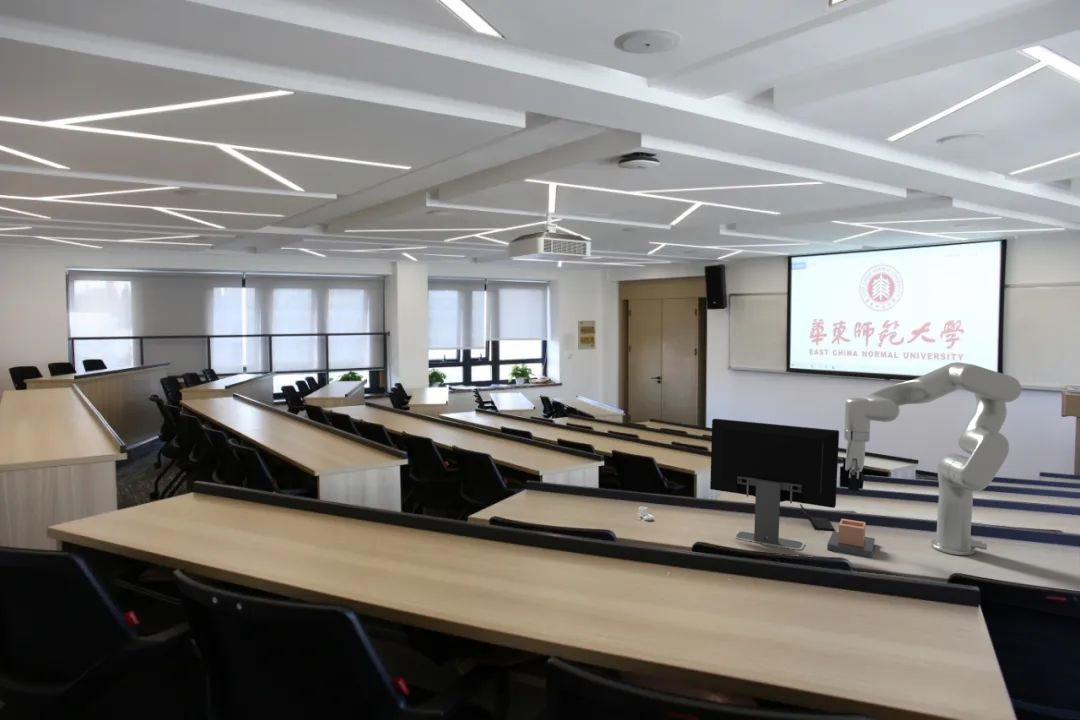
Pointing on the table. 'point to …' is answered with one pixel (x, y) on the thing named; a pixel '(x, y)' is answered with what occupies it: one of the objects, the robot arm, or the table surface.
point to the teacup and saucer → (644, 513)
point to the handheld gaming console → (819, 522)
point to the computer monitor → (774, 470)
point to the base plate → (851, 546)
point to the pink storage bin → (852, 532)
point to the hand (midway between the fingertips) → (855, 486)
